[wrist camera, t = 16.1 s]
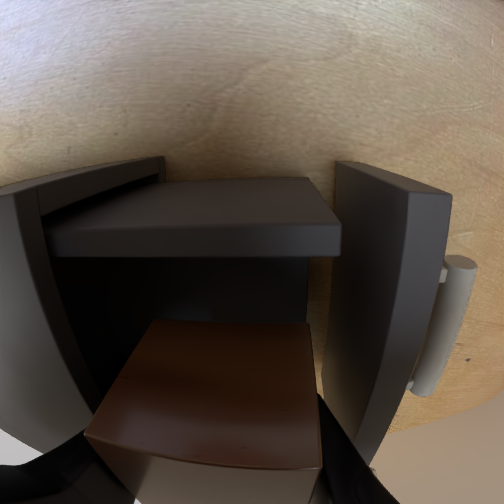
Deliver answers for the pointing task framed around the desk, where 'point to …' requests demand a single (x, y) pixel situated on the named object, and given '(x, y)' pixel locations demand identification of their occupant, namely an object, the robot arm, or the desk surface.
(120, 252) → the drawer
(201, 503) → the block
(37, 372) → the cabinet
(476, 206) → the desk surface
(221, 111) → the desk surface
